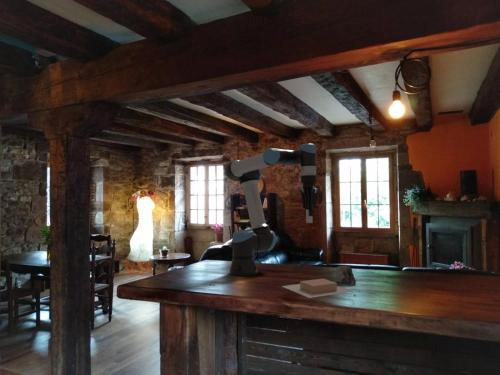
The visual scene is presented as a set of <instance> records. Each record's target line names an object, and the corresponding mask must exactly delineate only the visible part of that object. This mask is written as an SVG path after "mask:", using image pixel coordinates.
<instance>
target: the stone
mask: <svg viewBox="0 0 500 375" xmlns="http://www.w3.org/2000/svg"><path fill="white" fill-rule="evenodd" d="M333 275H334V277H335V279H336V281H337V282H336V283H341V284H346V285H351V286H353V285H354V286H355V285H356V284H357V281H356V278H355V275H354V273H353V268H352V266H349V265H348V266H347V265H339V266H337V267H335V269H334V274H333Z"/></svg>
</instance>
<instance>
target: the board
mask: <svg viewBox="0 0 500 375" xmlns="http://www.w3.org/2000/svg"><path fill="white" fill-rule="evenodd" d="M281 288H285V289H287V290H290V291H291V292H293V293H294V292H295V293H297V294H298V295H301V296H304V297H306V298H308V299H313V298H318V297H325V296H331V295H332V296H333V295H338V294H345V293H351V292H352V293H353V292H354V291H353V290H350V289H348V288H345V287H341V286H338V285H337V290H335V291H328V292H321V293H314V294H313V293H311V292H308V291H306V290H303V289H300V283H298V284H288V285H282V286H281Z"/></svg>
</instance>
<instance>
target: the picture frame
mask: <svg viewBox="0 0 500 375" xmlns="http://www.w3.org/2000/svg"><path fill="white" fill-rule="evenodd" d="M337 283H338V282H335V281H332V280H329V279H326V278H315V279H310V280H309V279H308V280H307V279H306V280H301V281H299V284H300V289H303V290H306V291H308V292H311V293H313V294H314V293H321V292H328V291H335V290H337V286H338V284H337Z"/></svg>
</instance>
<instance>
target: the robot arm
mask: <svg viewBox="0 0 500 375" xmlns="http://www.w3.org/2000/svg"><path fill="white" fill-rule="evenodd" d="M316 159H317V152H316V145H315V144H314V143H303V144H300V148H299V149H293V150H292V149H282V148H275V147H268V148H265V150H264V151H263V152H261V153H258V154H255V155H251V156H249V157H247V158H244V159H241V160H239V159H235V160H232V161H229V162H228V163H227V164H226V166H225V168H224V172H225V176H226V177H227V178H228V179H229V180H230V181H232V182H233V181H234V182H239V186H240V187H241V188H243V194H244V197H245V203H246V207H247V212H248V216H249V221H250V226H251V227H250V228H249V229H240V230H237V231H234V232H233V234H232V239H231V242H232V260H231V264H230V268H229V275H230V276H235V277H247V276H255V275H258V268H257V264H256V262H255V257H254V256H255V253H261V252H264V253H265V252H269V251H271V250H273V249H274V247H275V245H276V243H277V236H276V234H275V231H273V230H271V229H270V226H269V224H267V222H266V219H265V213H264V210H263V204H262V200H261V195H260V190H259V187H258V185H259V184H260V180H261V178H262V169H263V168H267V167H269V166H270V167H271V166H274V165H284V166H291V167H292V166H297V165H300V174H301V176H300V182H301V184H302V188H301V189H299V193H300V196H301V202H302V203H301V204H302V208H303V209H304V210H305V216H306V217H305V221H306V224H313V216H314V214H313V212H314V209H316V207H317V198H318V192H319V188H316V184H315V183H317V176H316V175H317V163H316V162H317V160H316Z"/></svg>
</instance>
